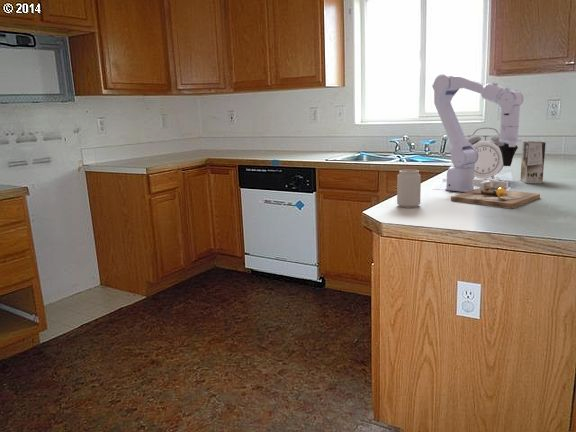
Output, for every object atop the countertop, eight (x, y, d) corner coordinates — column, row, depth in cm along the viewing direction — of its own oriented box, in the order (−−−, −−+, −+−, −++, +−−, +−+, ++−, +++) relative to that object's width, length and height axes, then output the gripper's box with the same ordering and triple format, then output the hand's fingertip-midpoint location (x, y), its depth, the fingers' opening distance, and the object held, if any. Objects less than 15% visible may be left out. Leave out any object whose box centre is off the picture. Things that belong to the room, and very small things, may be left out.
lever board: (450, 200, 167) (451, 195, 166) (480, 191, 180) (480, 187, 180) (512, 208, 152) (512, 203, 151) (539, 198, 165) (540, 193, 165)
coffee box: (543, 183, 192) (546, 142, 188) (525, 183, 193) (528, 142, 190) (536, 180, 201) (539, 140, 197) (519, 180, 202) (522, 141, 198)
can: (421, 204, 164) (421, 168, 161) (419, 208, 157) (420, 171, 154) (398, 203, 166) (398, 168, 164) (395, 208, 159) (396, 171, 157)
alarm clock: (461, 181, 206) (463, 128, 201) (465, 178, 213) (467, 127, 208) (503, 182, 198) (506, 127, 193) (505, 179, 205) (509, 126, 200)
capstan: (461, 194, 168) (461, 182, 167) (481, 188, 177) (481, 176, 176) (503, 199, 157) (504, 186, 156) (522, 192, 167) (522, 180, 166)
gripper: (526, 127, 160) (523, 168, 163) (517, 125, 173) (515, 163, 176) (503, 128, 161) (501, 168, 164) (496, 125, 175) (494, 163, 178)
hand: (506, 165), depth 171 cm, fingers closed
